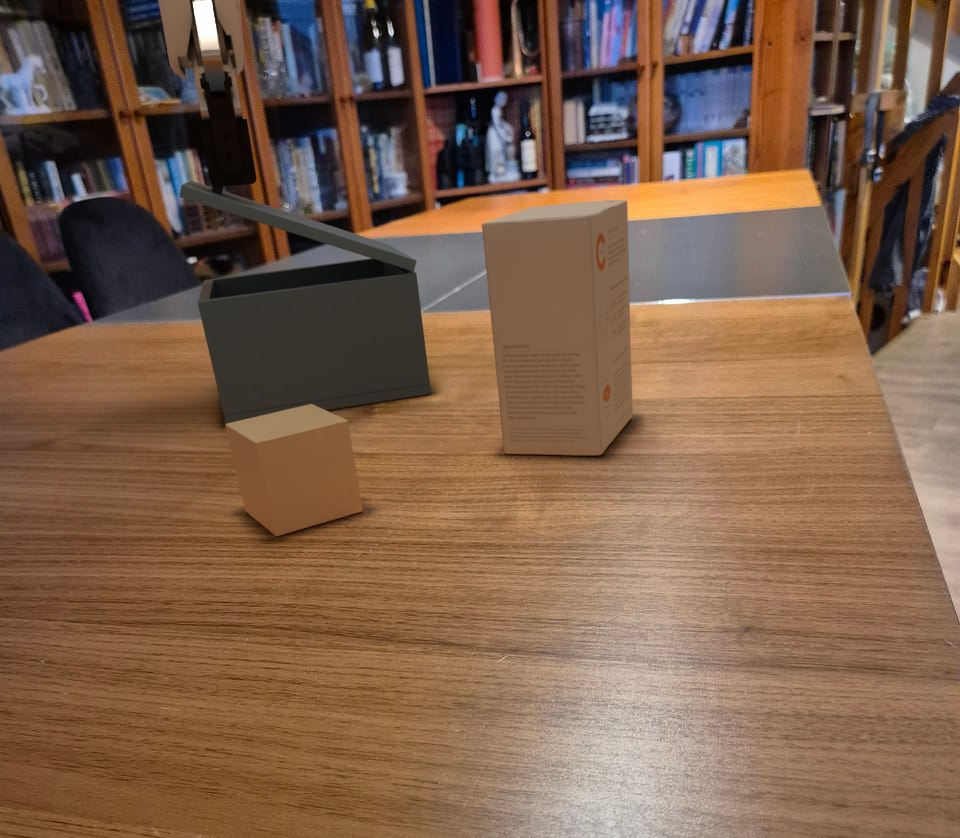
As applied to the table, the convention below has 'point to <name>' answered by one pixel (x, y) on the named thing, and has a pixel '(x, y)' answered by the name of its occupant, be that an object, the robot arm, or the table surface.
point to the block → (295, 468)
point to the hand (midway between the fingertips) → (234, 181)
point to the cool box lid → (294, 224)
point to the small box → (561, 325)
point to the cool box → (315, 337)
